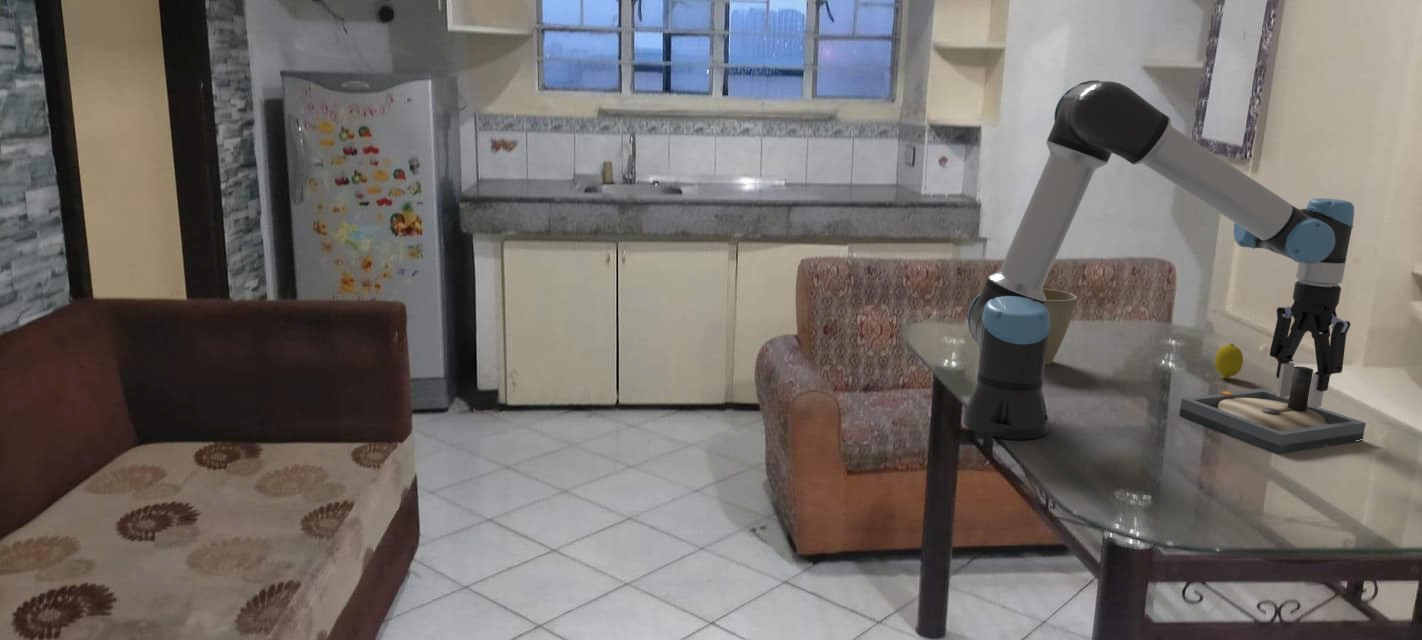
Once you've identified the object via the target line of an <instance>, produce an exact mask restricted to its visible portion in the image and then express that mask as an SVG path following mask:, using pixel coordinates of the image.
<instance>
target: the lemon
mask: <svg viewBox="0 0 1422 640" xmlns="http://www.w3.org/2000/svg"><path fill="white" fill-rule="evenodd" d="M1243 364H1244V355H1243V352H1242V350H1241V349H1240V348H1239V347H1237V346H1236V345H1234V343H1229V344H1226V345H1223V346H1221V347H1220V348H1218V351H1217V353H1216V354H1215V357H1214V367H1215V369H1216V371H1217V372H1218V373H1219V374H1220V375H1221V376H1223V377H1224V379H1229V378H1230V377H1233V376H1236V375H1238V373H1239V372H1240V371H1241V369H1242V367H1243Z"/></svg>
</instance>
